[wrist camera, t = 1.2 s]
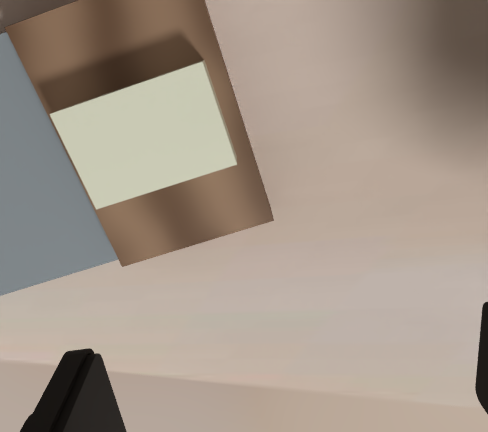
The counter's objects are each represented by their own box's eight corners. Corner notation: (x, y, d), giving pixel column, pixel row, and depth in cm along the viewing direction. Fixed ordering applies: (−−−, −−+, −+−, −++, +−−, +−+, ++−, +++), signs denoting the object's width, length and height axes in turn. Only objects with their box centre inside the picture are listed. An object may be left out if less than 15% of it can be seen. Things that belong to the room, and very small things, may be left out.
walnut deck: (193, -34, 25) (190, -41, 23) (270, 207, 31) (273, 220, 29) (24, 28, 26) (4, 27, 24) (129, 250, 32) (122, 266, 30)
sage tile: (204, 59, 25) (202, 61, 23) (236, 156, 27) (237, 164, 25) (62, 108, 26) (49, 114, 24) (104, 198, 28) (96, 209, 26)
